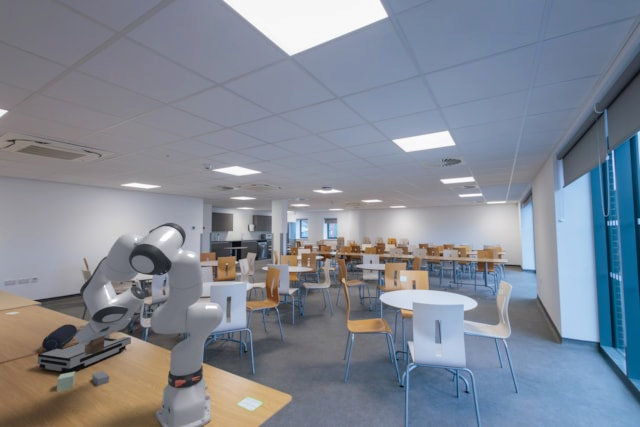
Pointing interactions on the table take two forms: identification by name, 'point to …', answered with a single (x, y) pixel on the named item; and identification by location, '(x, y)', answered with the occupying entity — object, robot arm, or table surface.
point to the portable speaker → (59, 337)
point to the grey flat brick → (100, 378)
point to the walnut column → (95, 346)
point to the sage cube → (66, 381)
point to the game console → (80, 355)
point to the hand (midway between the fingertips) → (93, 340)
